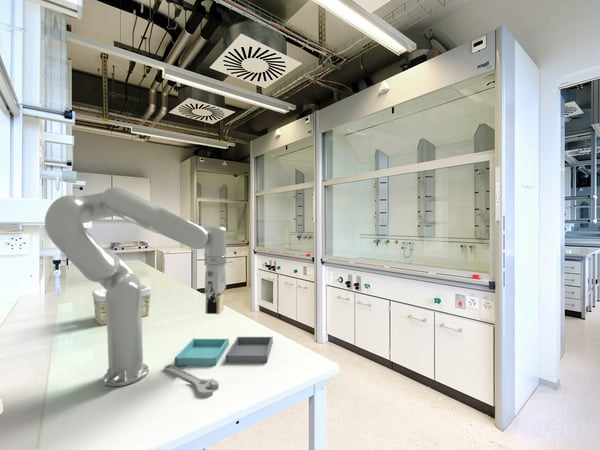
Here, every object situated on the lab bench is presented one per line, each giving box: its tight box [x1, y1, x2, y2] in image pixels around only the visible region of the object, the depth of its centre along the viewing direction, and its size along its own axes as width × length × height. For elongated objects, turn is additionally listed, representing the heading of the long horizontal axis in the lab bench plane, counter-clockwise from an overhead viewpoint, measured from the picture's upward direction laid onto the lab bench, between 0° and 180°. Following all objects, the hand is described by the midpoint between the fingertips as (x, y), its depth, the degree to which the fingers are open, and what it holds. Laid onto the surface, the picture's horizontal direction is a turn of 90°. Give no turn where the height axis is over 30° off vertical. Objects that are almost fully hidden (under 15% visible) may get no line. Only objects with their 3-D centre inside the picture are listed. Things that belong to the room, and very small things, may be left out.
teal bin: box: [174, 338, 230, 368], centre depth 109 cm, size 16×14×3 cm
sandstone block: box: [204, 293, 225, 315], centre depth 109 cm, size 5×5×6 cm
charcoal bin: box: [225, 336, 274, 364], centre depth 111 cm, size 16×14×3 cm
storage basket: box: [91, 283, 152, 326], centre depth 153 cm, size 24×16×15 cm
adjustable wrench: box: [163, 364, 220, 398], centre depth 94 cm, size 25×6×2 cm, turn 50°
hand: (214, 310), depth 109 cm, fingers closed on sandstone block, 5 cm apart
